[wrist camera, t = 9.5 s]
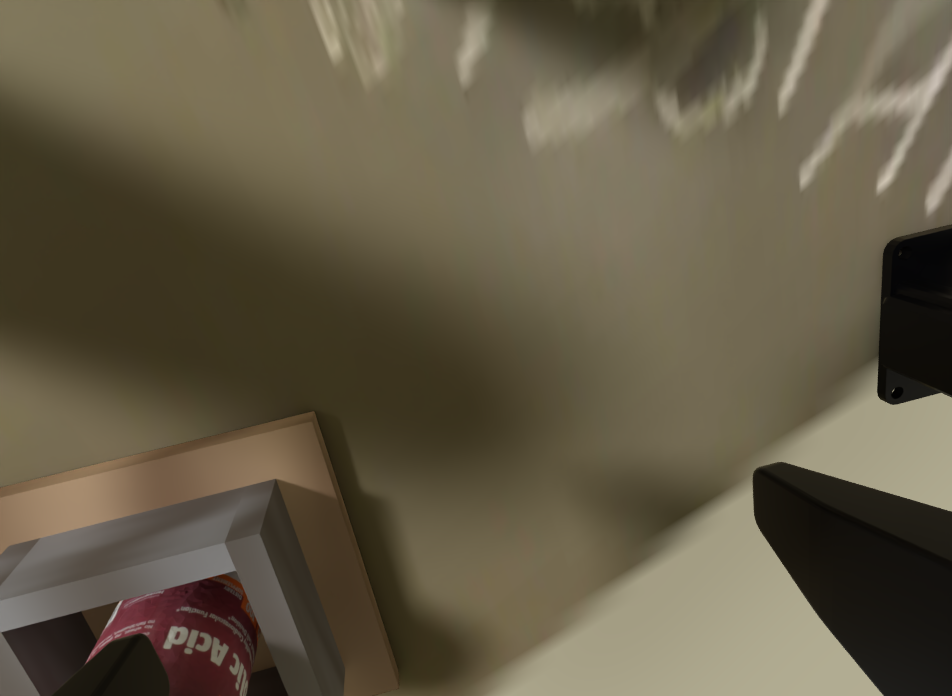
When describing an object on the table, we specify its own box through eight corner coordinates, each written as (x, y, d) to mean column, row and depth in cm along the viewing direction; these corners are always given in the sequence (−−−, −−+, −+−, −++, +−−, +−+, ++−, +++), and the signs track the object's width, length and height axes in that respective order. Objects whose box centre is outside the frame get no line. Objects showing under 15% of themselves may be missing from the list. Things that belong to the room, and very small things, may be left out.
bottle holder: (314, 410, 20) (301, 468, 17) (398, 671, 24) (402, 761, 21) (-57, 501, 19) (-154, 582, 16) (97, 756, 24) (47, 866, 20)
